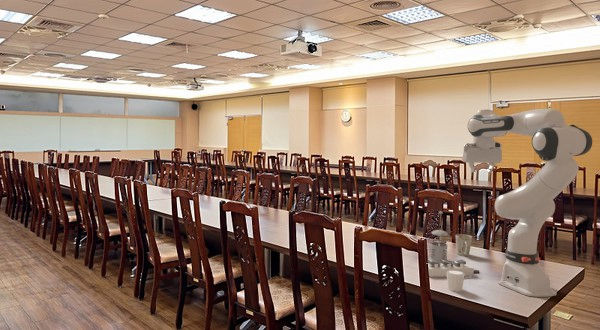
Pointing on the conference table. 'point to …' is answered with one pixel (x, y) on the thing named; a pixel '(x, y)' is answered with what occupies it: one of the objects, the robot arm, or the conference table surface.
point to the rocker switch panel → (442, 269)
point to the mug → (463, 244)
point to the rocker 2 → (459, 262)
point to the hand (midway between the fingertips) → (481, 172)
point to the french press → (436, 250)
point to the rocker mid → (446, 262)
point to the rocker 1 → (433, 262)
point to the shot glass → (455, 280)
